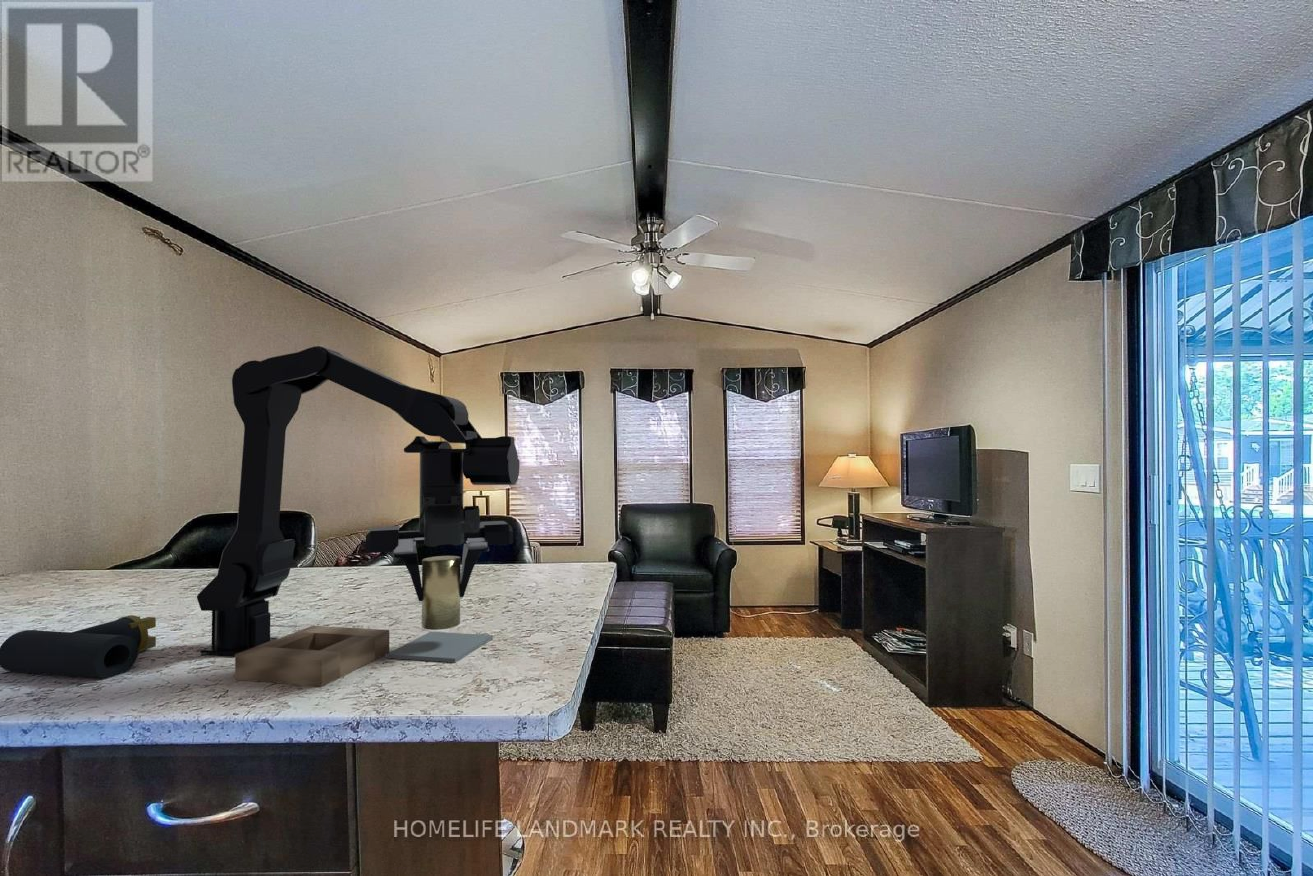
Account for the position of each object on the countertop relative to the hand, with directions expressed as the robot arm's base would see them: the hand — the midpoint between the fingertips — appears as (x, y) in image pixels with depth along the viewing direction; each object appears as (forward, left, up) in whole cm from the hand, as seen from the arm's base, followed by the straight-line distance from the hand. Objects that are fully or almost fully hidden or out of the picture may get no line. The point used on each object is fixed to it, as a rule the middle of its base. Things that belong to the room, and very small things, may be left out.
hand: (441, 598), depth 81 cm
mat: (0, 0, -7) cm, 7 cm away
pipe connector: (-41, -13, -7) cm, 44 cm away
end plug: (0, 0, -4) cm, 4 cm away
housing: (-12, -9, -7) cm, 16 cm away
